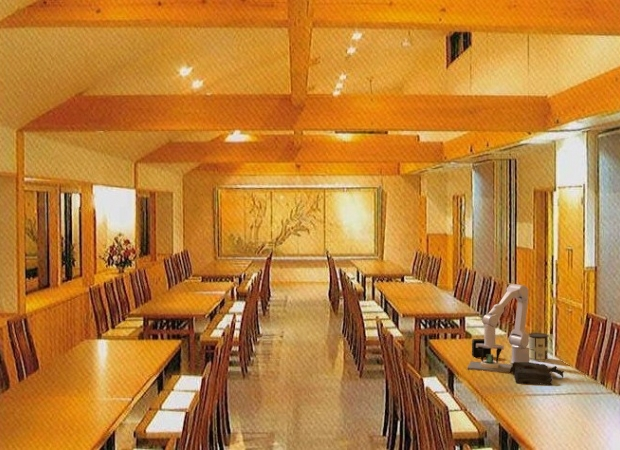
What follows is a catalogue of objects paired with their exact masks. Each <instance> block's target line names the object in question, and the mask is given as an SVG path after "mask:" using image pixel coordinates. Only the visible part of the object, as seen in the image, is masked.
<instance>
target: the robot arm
mask: <svg viewBox="0 0 620 450" xmlns="http://www.w3.org/2000/svg"><path fill="white" fill-rule="evenodd" d="M529 290H530V289H529V288H528V287H527V285H524V284H516V283H510V284H509V285H508V286H507V287H506V292H505V293H504V295H503V296H502V298H501V300H500V301H499V302H498V303H497V304H496V303H495V304H494V305H493V306H492V308H491V310H490V311H489V312H488V313H487V314H484V315H483V317H482V319H481V322H482V323H483V328H484V334H483V335H484V336H483V337H484V338H483V339H484V344H477V343H476V348H478V351H479V353H480V356H481V358H480V359H481V361H483V360H484V358H483V348H491V350H492V349H493V350H494V349H495V351H496V360H495V361H496V363H498V361H499V357H500V354H501V353H502V350H504V349H505V345H501V344H496V326H497V325H498V323H499V320H500V317H501V316H502V314H503V313H504V312H505V307H506V306H507V305H508V304H509V302H510V301H512V300H513V299H516V301H517V304H516V305H517V306H516V314H515V321H514V322H515V323H514V329H512V330H511V331H510V334H509V336H508V343H509V345H510V346H511V360H510V364H512V365H513V363H514V362H530V361H531V360H530V358H529V347H528V346H529V334H528V332H526V324H527V322H526V321H527V314H528V313H527V312H528V305H529V292H530V291H529Z"/></svg>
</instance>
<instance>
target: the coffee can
mask: <svg viewBox="0 0 620 450" xmlns="http://www.w3.org/2000/svg"><path fill="white" fill-rule="evenodd" d="M548 337H549V335H548V334H547V333H543V332H531V333H529V334H528V340H529V343H528V348H529V358H530V361H534V362H547V361H548V360H549V359H548V358H549V357H548V347H549V346H548V343H549V342H548V341H549V340H548V339H549V338H548Z"/></svg>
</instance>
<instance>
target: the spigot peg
mask: <svg viewBox="0 0 620 450" xmlns="http://www.w3.org/2000/svg"><path fill="white" fill-rule="evenodd" d="M485 360H486V363H490V364H493V361H494V354H492V353H491V354H487V355H486V359H485Z"/></svg>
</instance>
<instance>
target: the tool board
mask: <svg viewBox="0 0 620 450" xmlns="http://www.w3.org/2000/svg"><path fill="white" fill-rule="evenodd" d="M512 365H513V364H511V363H510V364H509V363H500V360H498V363H496V360H493V364H490V363H486V359H483V361H482V360H481V361H474V360H473V361H472V360H471V361H469V364H468V365H467V367H466V370H473V371H482V370H483V371H484V372H495V373H496V372H497V373H506V374H510V373H511V371H512Z"/></svg>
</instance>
